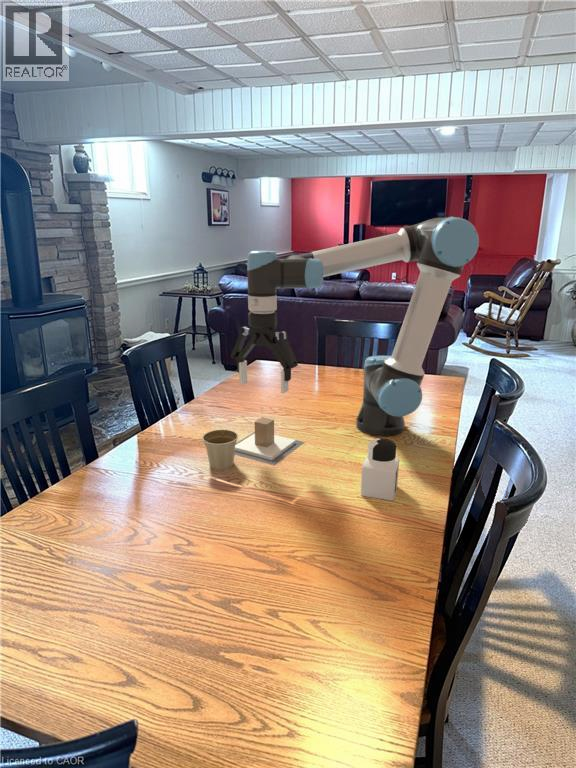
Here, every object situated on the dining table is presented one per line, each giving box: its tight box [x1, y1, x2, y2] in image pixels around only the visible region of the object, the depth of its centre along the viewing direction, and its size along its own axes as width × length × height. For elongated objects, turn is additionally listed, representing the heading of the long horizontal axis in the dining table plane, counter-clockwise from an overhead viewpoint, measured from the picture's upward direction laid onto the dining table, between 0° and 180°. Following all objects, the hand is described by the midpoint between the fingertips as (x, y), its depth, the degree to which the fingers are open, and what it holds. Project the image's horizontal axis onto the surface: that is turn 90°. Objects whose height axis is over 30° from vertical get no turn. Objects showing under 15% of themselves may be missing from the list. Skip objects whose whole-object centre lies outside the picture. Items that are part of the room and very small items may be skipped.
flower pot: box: [201, 428, 239, 471], centre depth 132 cm, size 9×9×9 cm
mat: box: [234, 431, 305, 466], centre depth 143 cm, size 17×17×1 cm
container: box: [360, 437, 400, 502], centre depth 119 cm, size 8×8×13 cm
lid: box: [235, 417, 297, 460], centre depth 142 cm, size 13×13×8 cm
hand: (263, 387), depth 138 cm, fingers open, 13 cm apart
